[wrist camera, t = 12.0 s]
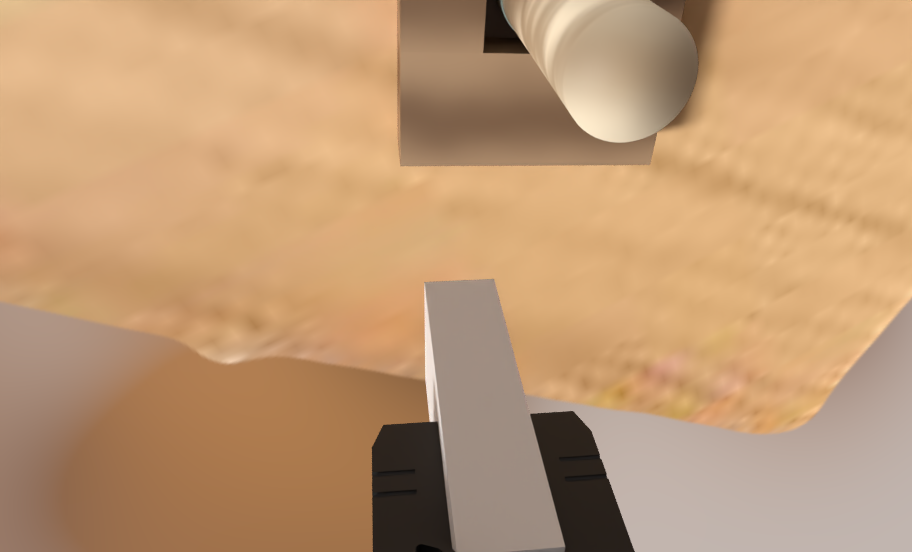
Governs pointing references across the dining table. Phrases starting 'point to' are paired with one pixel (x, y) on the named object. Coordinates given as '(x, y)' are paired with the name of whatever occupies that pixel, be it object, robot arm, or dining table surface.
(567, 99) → the peg
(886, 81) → the dining table surface
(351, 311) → the dining table surface
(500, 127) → the board
